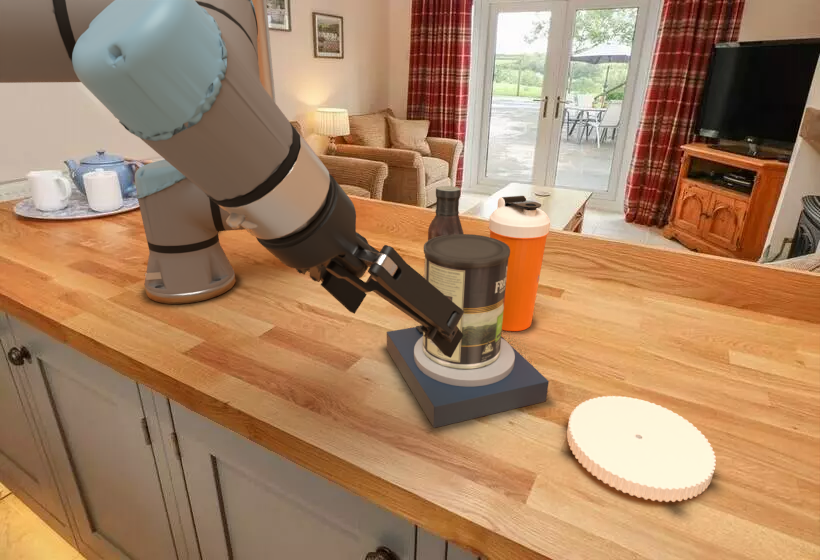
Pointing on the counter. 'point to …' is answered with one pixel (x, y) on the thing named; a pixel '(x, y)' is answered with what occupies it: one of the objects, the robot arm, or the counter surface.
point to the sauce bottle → (446, 213)
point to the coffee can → (469, 294)
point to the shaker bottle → (520, 255)
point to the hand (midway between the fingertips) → (403, 322)
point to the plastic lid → (641, 448)
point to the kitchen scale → (465, 381)
